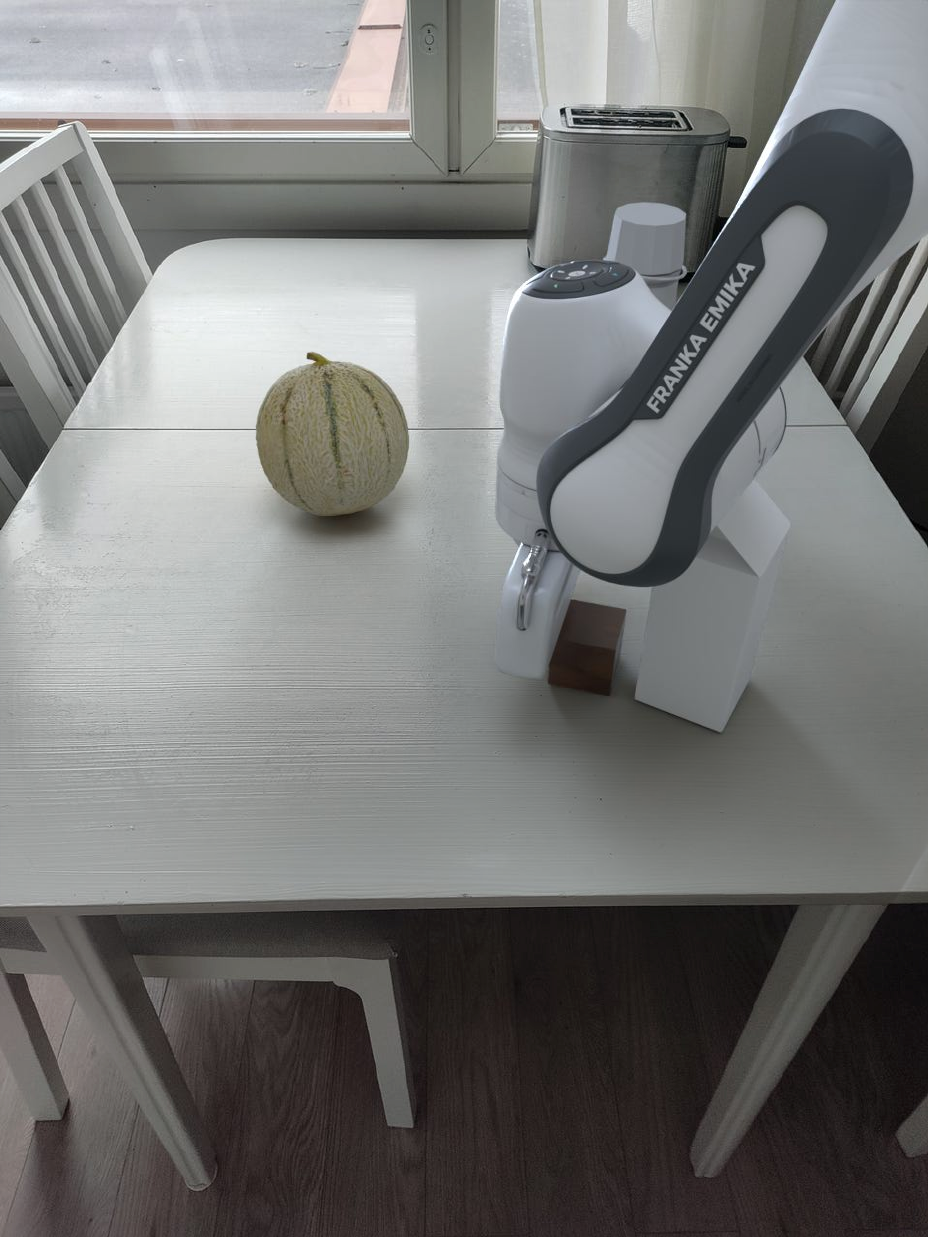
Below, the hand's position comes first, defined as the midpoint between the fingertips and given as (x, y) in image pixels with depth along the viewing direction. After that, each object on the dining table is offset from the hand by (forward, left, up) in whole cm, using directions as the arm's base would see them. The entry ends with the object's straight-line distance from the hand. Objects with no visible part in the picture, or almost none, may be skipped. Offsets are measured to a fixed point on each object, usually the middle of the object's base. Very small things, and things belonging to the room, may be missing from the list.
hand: (545, 640), depth 77 cm
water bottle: (-1, -35, -3) cm, 35 cm away
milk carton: (-12, 0, -3) cm, 12 cm away
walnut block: (-3, 0, -2) cm, 4 cm away
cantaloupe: (+25, -17, -3) cm, 30 cm away
